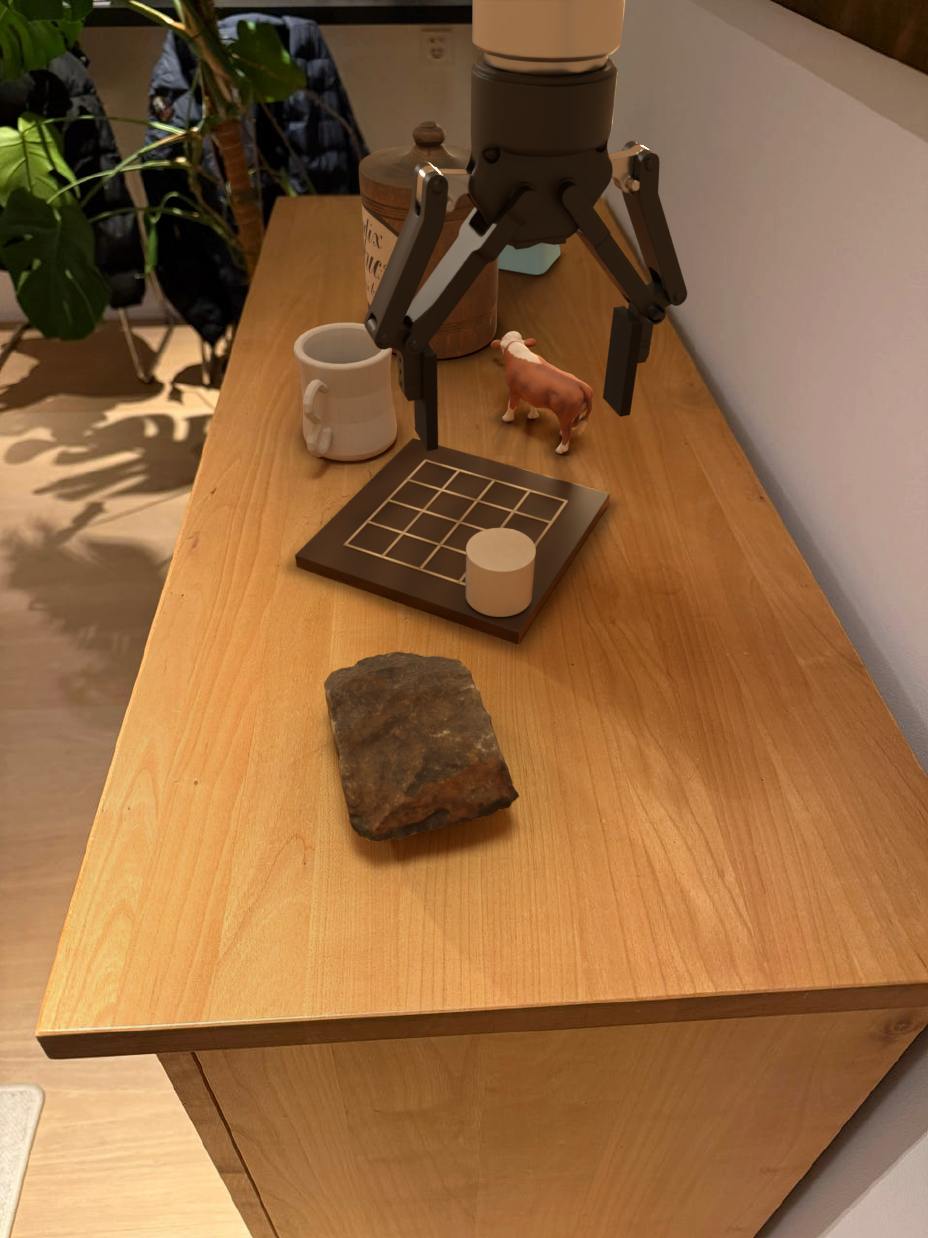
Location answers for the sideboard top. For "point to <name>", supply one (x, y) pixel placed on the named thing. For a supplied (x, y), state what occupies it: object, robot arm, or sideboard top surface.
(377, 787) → the stone
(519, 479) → the grid board
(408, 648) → the sideboard top surface
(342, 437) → the mug
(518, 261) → the blue toy chair
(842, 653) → the sideboard top surface
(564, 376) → the bull figurine
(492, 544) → the white short cylinder
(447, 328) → the wooden container
